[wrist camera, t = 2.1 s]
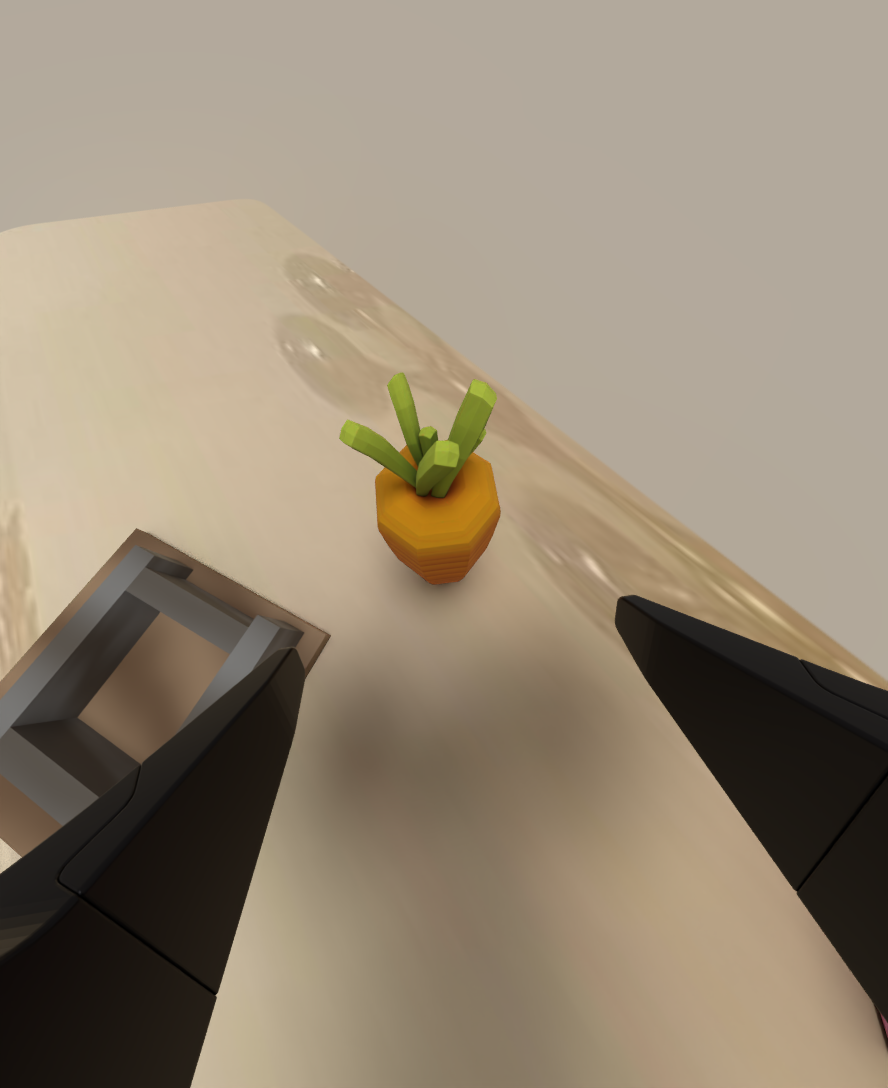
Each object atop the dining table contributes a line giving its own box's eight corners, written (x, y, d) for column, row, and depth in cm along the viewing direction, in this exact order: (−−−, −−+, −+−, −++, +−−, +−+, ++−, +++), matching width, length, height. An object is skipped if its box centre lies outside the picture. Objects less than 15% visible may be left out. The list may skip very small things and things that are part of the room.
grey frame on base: (147, 941, 16) (58, 1022, 12) (-56, 764, 19) (-177, 788, 15) (330, 635, 20) (304, 629, 17) (146, 532, 23) (91, 509, 20)
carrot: (397, 596, 21) (288, 463, 7) (419, 528, 23) (365, 313, 9) (470, 616, 21) (508, 515, 7) (488, 545, 22) (547, 343, 8)
